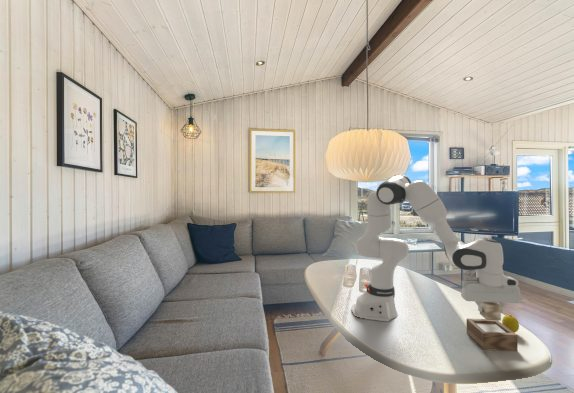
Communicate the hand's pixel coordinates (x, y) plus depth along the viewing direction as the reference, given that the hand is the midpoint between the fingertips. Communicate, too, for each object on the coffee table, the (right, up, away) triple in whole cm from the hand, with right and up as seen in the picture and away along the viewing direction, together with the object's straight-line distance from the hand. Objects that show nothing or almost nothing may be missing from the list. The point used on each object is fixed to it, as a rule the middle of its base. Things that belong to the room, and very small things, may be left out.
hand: (490, 311), depth 105 cm
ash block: (0, -2, 0) cm, 2 cm away
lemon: (+14, -12, +7) cm, 20 cm away
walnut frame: (+1, -13, +1) cm, 13 cm away
